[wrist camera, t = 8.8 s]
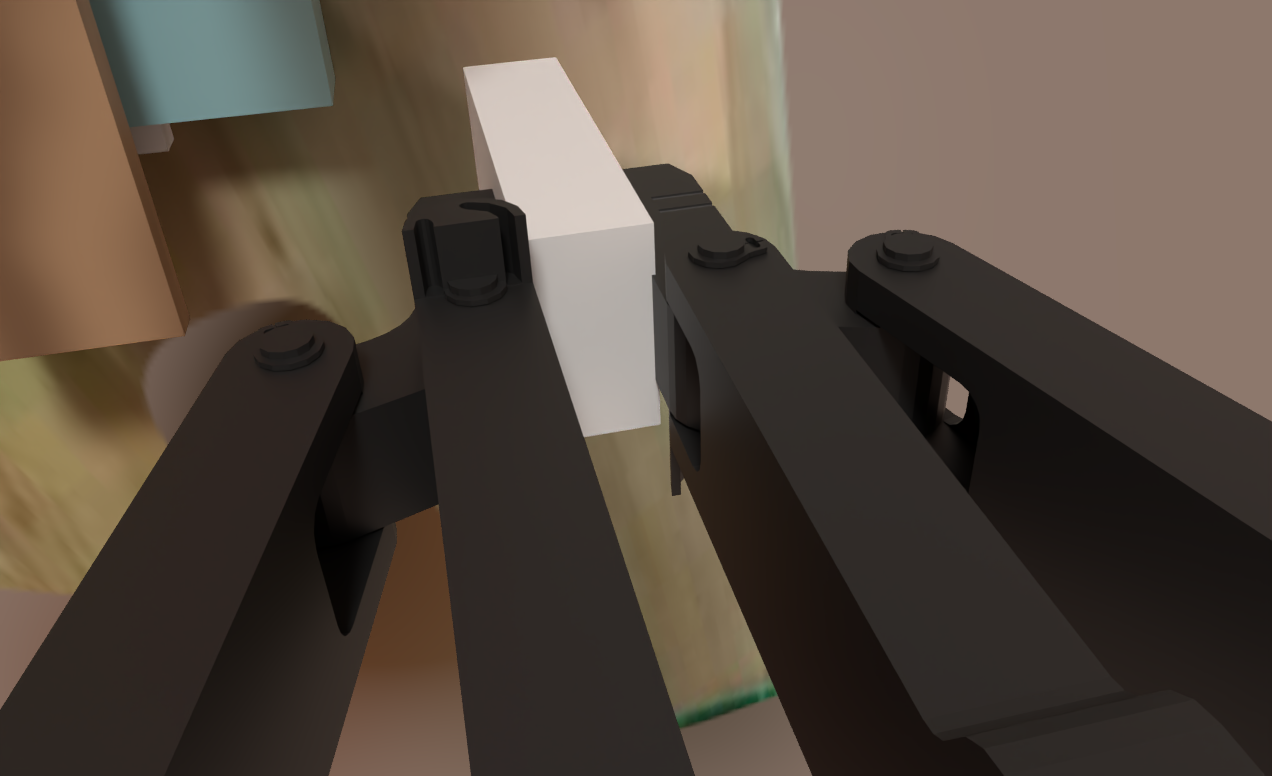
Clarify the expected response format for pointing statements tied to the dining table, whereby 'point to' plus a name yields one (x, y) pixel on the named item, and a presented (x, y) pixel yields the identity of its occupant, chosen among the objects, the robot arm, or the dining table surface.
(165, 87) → the slate blue rectangular box
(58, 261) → the overhang
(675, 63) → the dining table surface
